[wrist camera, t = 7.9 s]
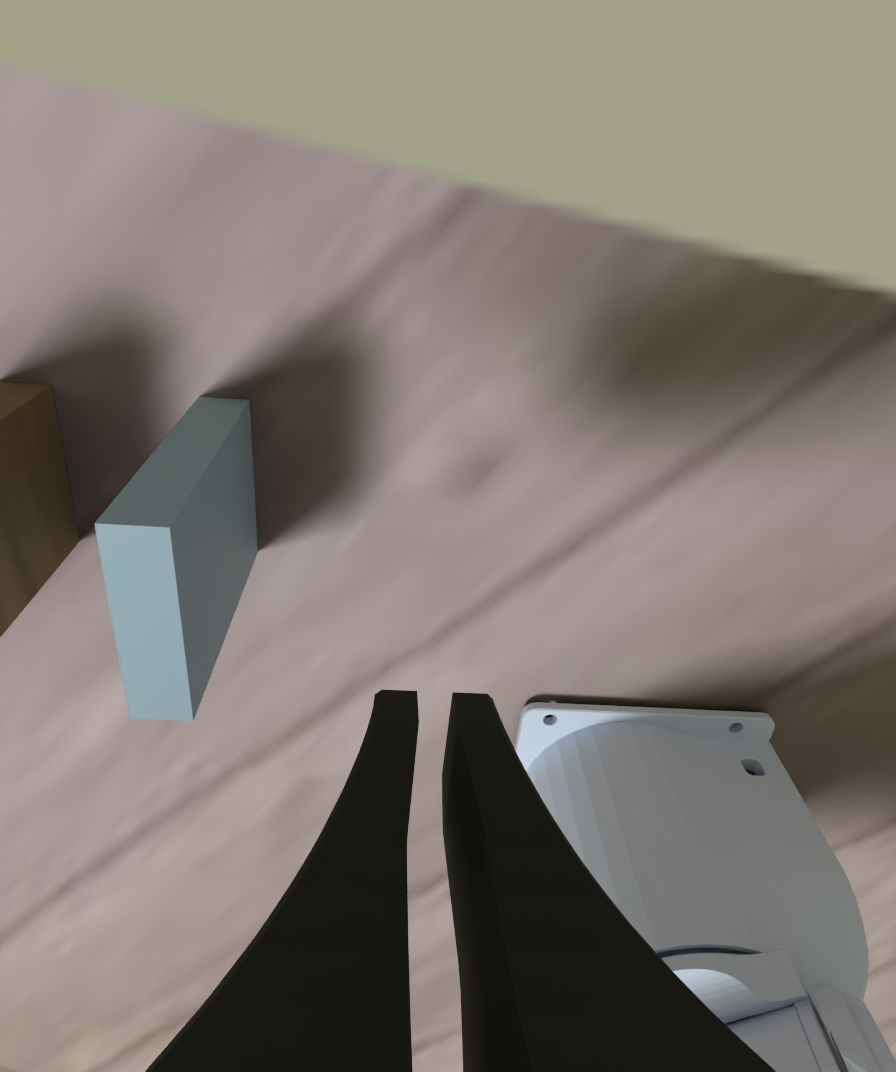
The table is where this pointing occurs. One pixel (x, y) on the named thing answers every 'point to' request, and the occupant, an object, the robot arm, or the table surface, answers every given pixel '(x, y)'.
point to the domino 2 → (180, 557)
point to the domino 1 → (31, 496)
